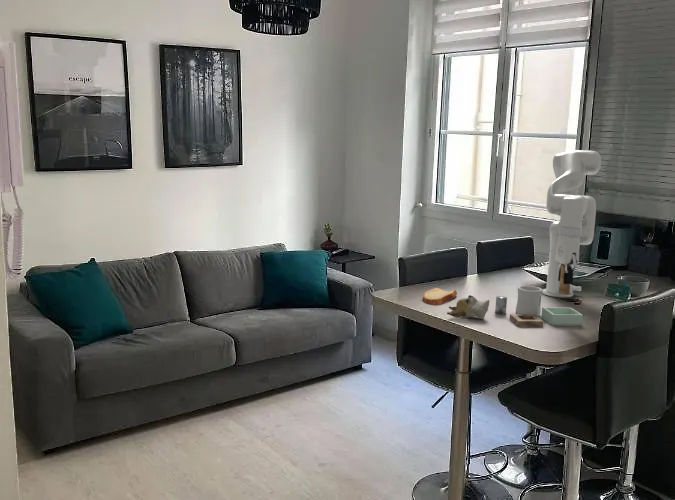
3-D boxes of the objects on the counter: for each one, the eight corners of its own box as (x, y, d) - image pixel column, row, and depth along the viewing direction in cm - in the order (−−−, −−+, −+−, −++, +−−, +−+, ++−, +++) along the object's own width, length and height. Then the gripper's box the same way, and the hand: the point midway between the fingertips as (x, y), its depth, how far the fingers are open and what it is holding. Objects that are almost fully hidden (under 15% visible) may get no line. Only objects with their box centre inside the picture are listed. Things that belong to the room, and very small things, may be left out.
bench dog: (503, 311, 251) (505, 296, 250) (507, 314, 247) (508, 298, 246) (493, 311, 251) (494, 296, 249) (496, 314, 247) (498, 298, 246)
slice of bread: (430, 306, 256) (430, 296, 256) (411, 295, 273) (411, 286, 272) (471, 304, 262) (471, 294, 261) (450, 293, 278) (450, 284, 278)
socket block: (533, 319, 241) (533, 314, 241) (542, 326, 232) (543, 321, 232) (509, 319, 240) (509, 314, 240) (518, 326, 232) (518, 321, 231)
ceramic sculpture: (489, 299, 233) (446, 297, 237) (489, 323, 234) (446, 321, 238) (489, 292, 243) (448, 291, 247) (489, 315, 245) (448, 314, 248)
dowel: (566, 292, 239) (569, 260, 237) (571, 294, 236) (574, 261, 234) (557, 292, 239) (560, 259, 237) (561, 294, 236) (564, 261, 234)
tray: (569, 317, 245) (570, 307, 244) (581, 325, 235) (583, 315, 235) (541, 317, 244) (542, 307, 243) (552, 325, 234) (553, 314, 234)
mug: (543, 317, 244) (545, 291, 242) (518, 316, 244) (520, 290, 242) (534, 309, 256) (536, 284, 254) (511, 308, 256) (513, 283, 255)
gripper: (550, 228, 242) (545, 277, 245) (569, 235, 225) (564, 287, 228) (570, 228, 242) (565, 277, 245) (591, 235, 226) (585, 288, 229)
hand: (565, 282), depth 237 cm, fingers closed on dowel, 3 cm apart
